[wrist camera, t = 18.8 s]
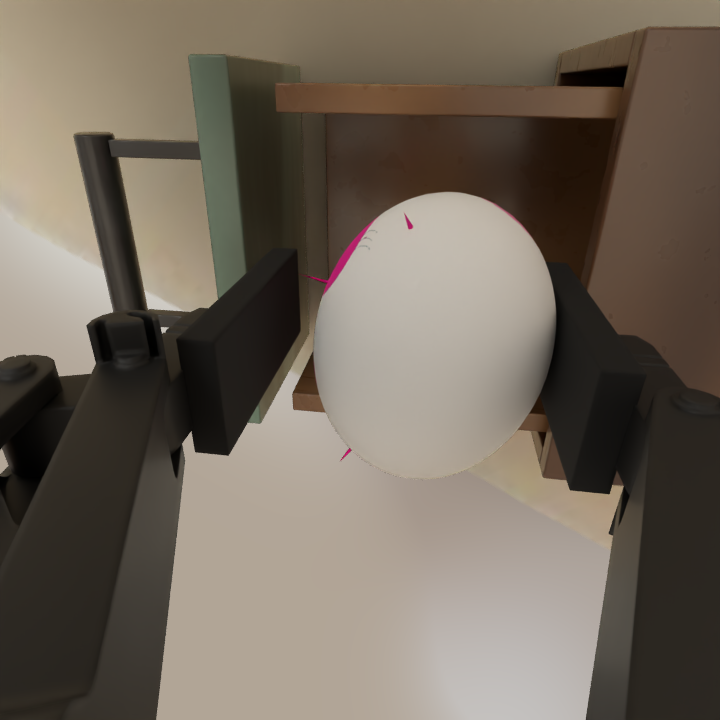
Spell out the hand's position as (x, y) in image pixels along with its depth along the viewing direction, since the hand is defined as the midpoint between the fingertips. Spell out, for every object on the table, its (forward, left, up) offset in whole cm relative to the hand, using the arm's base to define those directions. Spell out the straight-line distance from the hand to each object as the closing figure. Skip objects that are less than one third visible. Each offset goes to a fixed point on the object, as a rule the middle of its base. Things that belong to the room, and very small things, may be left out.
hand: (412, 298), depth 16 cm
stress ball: (0, 0, 0) cm, 0 cm away
